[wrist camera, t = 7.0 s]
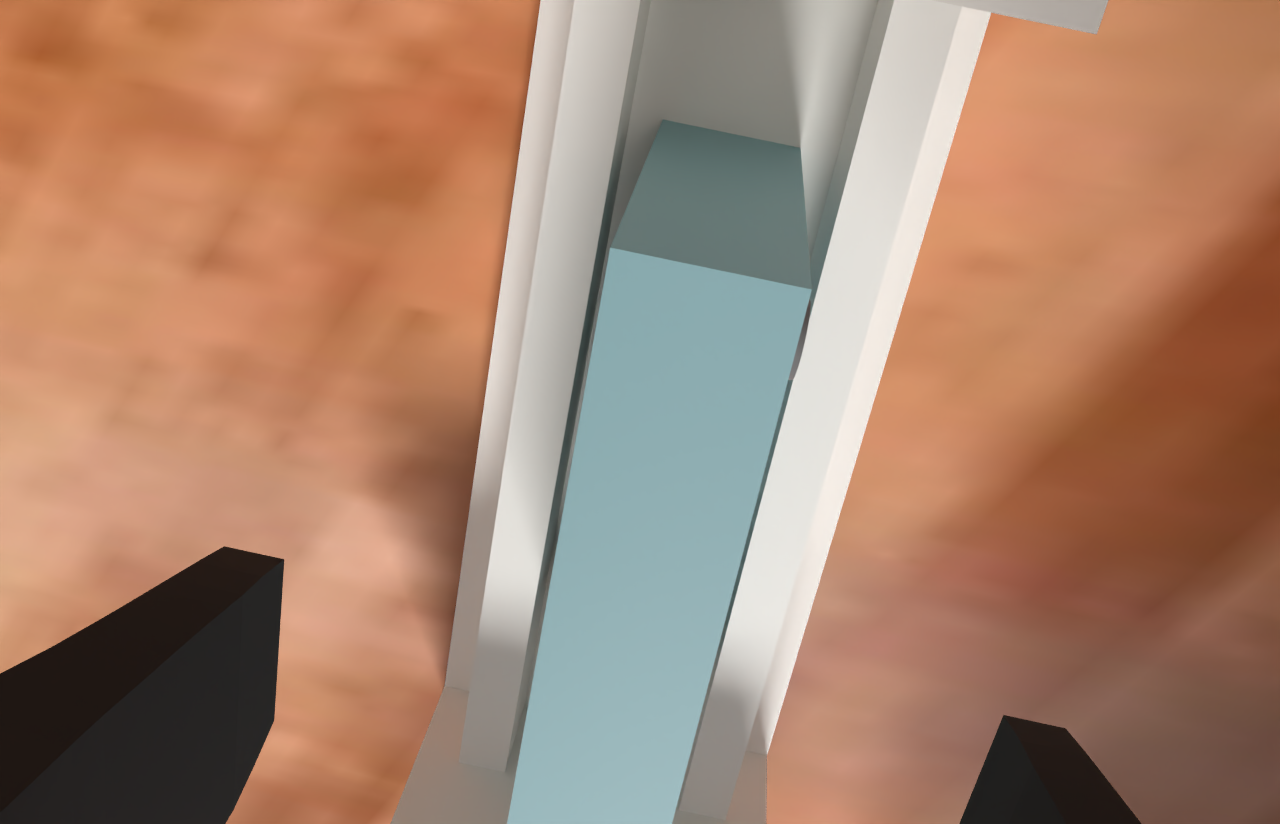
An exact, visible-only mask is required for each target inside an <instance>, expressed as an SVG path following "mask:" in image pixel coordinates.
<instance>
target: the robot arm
mask: <svg viewBox="0 0 1280 824" xmlns="http://www.w3.org/2000/svg"><path fill="white" fill-rule="evenodd" d="M283 570H284V559H280V558H275V557H271V556H266V555H261V554H257V553H252V552H248V551H243V550H238V549H234V548H229V547H222V548H221V549H219V550H217V551H215V552H213V553H212V554H210V555H208V556H206V557H205V558H203V559H201V560H200V561H198V562H196V563H195V564H193V565H191V566H190V567H188V568H186V569H185V570H183V571H181V572H179V573H178V574H176V575H174V576H173V577H171V578H169V579H168V580H166V581H164V582H163V583H161V584H159V585H158V586H156V587H154V588H153V589H151V590H149V591H148V592H146V593H144V594H143V595H141V596H139V597H138V598H136V599H134V600H132V601H131V602H129V603H127V604H126V605H124V606H122V607H121V608H119V609H117V610H116V611H114V612H112V613H111V614H109V615H107V616H105V617H104V618H102V619H100V620H98V621H97V622H95V623H93V624H91V625H90V626H88V627H86V628H84V629H83V630H81V631H79V632H77V633H76V634H74V635H72V636H70V637H69V638H67V639H65V640H63V641H62V642H60V643H58V644H56V645H55V646H53V647H51V648H49V649H47V650H45V651H43V652H41V653H39V654H37V655H36V656H34V657H32V658H30V659H28V660H26V661H24V662H22V663H20V664H18V665H16V666H14V667H12V668H10V669H8V670H6V671H5V672H3V673H1V674H0V824H225V823H226V821H227V820H228V818H229V816H230V815H231V813H232V811H233V810H234V807H235V805H236V803H237V801H238V799H239V797H240V795H241V793H242V790H243V788H244V786H245V784H246V782H247V780H248V778H249V776H250V773H251V771H252V769H253V767H254V765H255V762H256V760H257V758H258V756H259V753H260V751H261V749H262V747H263V744H264V742H265V740H266V738H267V735H268V733H269V731H270V728H271V726H272V724H273V722H274V714H275V698H276V682H277V666H278V650H279V634H280V618H281V602H282V586H283ZM960 824H1141V823H1140V821H1139V820H1138V819H1137V818H1136V816H1135V815H1134V814H1133V812H1132V811H1131V810H1130V809H1129V807H1128V806H1127V805H1126V803H1125V802H1124V801H1123V800H1122V798H1121V797H1120V796H1119V795H1118V793H1117V792H1116V791H1115V789H1114V788H1113V787H1112V786H1111V784H1110V783H1109V782H1108V780H1107V779H1106V778H1105V777H1104V775H1103V774H1102V773H1101V771H1100V770H1099V769H1098V768H1097V766H1096V765H1095V764H1094V763H1093V761H1092V760H1091V759H1090V757H1089V756H1088V755H1087V754H1086V753H1085V751H1084V750H1083V749H1082V748H1081V746H1080V745H1079V744H1078V743H1077V742H1076V740H1075V739H1074V738H1073V737H1072V736H1071V734H1070V733H1069V732H1068V731H1067V730H1066V729H1065V728H1061V727H1056V726H1051V725H1047V724H1042V723H1037V722H1033V721H1028V720H1024V719H1019V718H1014V717H1010V716H1005V715H1004V716H1003V718H1002V721H1001V723H1000V725H999V728H998V730H997V733H996V735H995V738H994V740H993V743H992V745H991V748H990V750H989V753H988V755H987V757H986V760H985V762H984V765H983V767H982V770H981V772H980V775H979V777H978V780H977V782H976V784H975V787H974V789H973V792H972V794H971V797H970V799H969V802H968V804H967V807H966V809H965V812H964V814H963V816H962V819H961V821H960Z"/></svg>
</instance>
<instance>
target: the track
mask: <svg viewBox="0 0 1280 824" xmlns="http://www.w3.org/2000/svg"><path fill="white" fill-rule="evenodd" d="M1107 3H1108V0H541V2H540V9H539V16H538V23H537V30H536V37H535V44H534V52H533V59H532V66H531V73H530V80H529V87H528V94H527V102H526V109H525V116H524V123H523V130H522V137H521V144H520V152H519V159H518V166H517V173H516V180H515V187H514V194H513V202H512V209H511V216H510V223H509V230H508V237H507V244H506V252H505V259H504V266H503V273H502V280H501V287H500V294H499V302H498V309H497V316H496V323H495V330H494V337H493V344H492V351H491V359H490V366H489V373H488V380H487V387H486V394H485V401H484V409H483V416H482V423H481V430H480V437H479V444H478V451H477V459H476V466H475V473H474V480H473V487H472V494H471V501H470V509H469V516H468V523H467V530H466V537H465V544H464V551H463V559H462V566H461V573H460V580H459V587H458V594H457V601H456V609H455V616H454V623H453V630H452V637H451V644H450V651H449V658H448V666H447V673H446V680H445V686H444V689H443V692H442V694H441V697H440V699H439V702H438V704H437V707H436V709H435V712H434V714H433V717H432V720H431V722H430V725H429V727H428V730H427V732H426V735H425V737H424V740H423V742H422V745H421V748H420V750H419V753H418V755H417V758H416V760H415V763H414V765H413V768H412V770H411V773H410V776H409V778H408V781H407V783H406V786H405V788H404V791H403V793H402V796H401V798H400V801H399V804H398V806H397V809H396V811H395V814H394V816H393V819H392V821H391V824H507V821H508V816H509V810H510V804H511V799H512V793H513V788H514V782H515V777H516V771H517V765H518V760H519V754H520V749H521V743H522V737H523V732H524V726H525V721H526V715H527V709H528V704H529V698H530V693H531V687H532V682H533V676H534V670H535V665H536V659H537V654H538V648H539V642H540V637H541V631H542V626H543V620H544V614H545V609H546V603H547V598H548V592H549V586H550V581H551V575H552V570H553V564H554V559H555V553H556V547H557V542H558V536H559V531H560V525H561V519H562V514H563V508H564V503H565V497H566V491H567V486H568V480H569V475H570V469H571V464H572V458H573V452H574V447H575V441H576V436H577V430H578V424H579V419H580V413H581V408H582V402H583V396H584V391H585V385H586V380H587V374H588V369H589V363H590V357H591V352H592V346H593V341H594V335H595V329H596V324H597V318H598V313H599V307H600V301H601V296H602V290H603V285H604V279H605V274H606V268H607V262H608V257H609V251H610V247H611V244H612V242H613V239H614V237H615V234H616V232H617V230H618V227H619V225H620V222H621V220H622V217H623V215H624V213H625V210H626V208H627V205H628V203H629V200H630V198H631V195H632V193H633V191H634V188H635V186H636V183H637V181H638V178H639V176H640V173H641V171H642V169H643V166H644V164H645V161H646V159H647V156H648V154H649V151H650V149H651V147H652V144H653V142H654V139H655V137H656V134H657V132H658V130H659V127H660V125H661V122H662V120H668V121H673V122H678V123H683V124H688V125H692V126H697V127H702V128H707V129H712V130H717V131H721V132H726V133H731V134H736V135H741V136H746V137H750V138H755V139H760V140H765V141H770V142H775V143H779V144H784V145H789V146H794V147H799V148H801V160H802V173H803V185H804V197H805V210H806V222H807V235H808V247H809V260H810V272H811V284H812V291H811V295H810V301H811V308H810V317H809V323H808V329H807V334H806V339H805V343H804V348H803V352H802V356H801V359H800V363H799V366H798V369H797V372H796V375H795V377H794V379H793V380H788V383H787V387H786V390H785V394H784V398H783V402H782V406H781V410H780V413H779V417H778V421H777V425H776V429H775V432H774V436H773V440H772V444H771V448H770V452H769V455H768V459H767V463H766V467H765V471H764V474H763V478H762V482H761V486H760V490H759V494H758V497H757V501H756V505H755V509H754V513H753V516H752V520H751V524H750V528H749V532H748V536H747V539H746V543H745V547H744V551H743V555H742V558H741V562H740V566H739V570H738V574H737V578H736V581H735V585H734V589H733V593H732V597H731V600H730V604H729V608H728V612H727V616H726V619H725V623H724V627H723V631H722V635H721V639H720V642H719V646H718V650H717V654H716V658H715V661H714V665H713V669H712V673H711V677H710V681H709V684H708V688H707V692H706V696H705V700H704V703H703V707H702V711H701V715H700V719H699V723H698V726H697V730H696V734H695V738H694V742H693V745H692V749H691V753H690V757H689V761H688V765H687V768H686V772H685V776H684V780H683V784H682V787H681V791H680V795H679V799H678V803H677V807H676V810H675V814H674V818H673V822H672V824H766V798H767V754H768V750H769V747H770V744H771V740H772V737H773V734H774V730H775V727H776V724H777V720H778V717H779V714H780V711H781V707H782V704H783V701H784V697H785V694H786V691H787V687H788V684H789V681H790V677H791V674H792V671H793V667H794V664H795V661H796V658H797V654H798V651H799V648H800V644H801V641H802V638H803V634H804V631H805V628H806V624H807V621H808V618H809V614H810V611H811V608H812V604H813V601H814V598H815V595H816V591H817V588H818V585H819V581H820V578H821V575H822V571H823V568H824V565H825V561H826V558H827V555H828V551H829V548H830V545H831V542H832V538H833V535H834V532H835V528H836V525H837V522H838V518H839V515H840V512H841V508H842V505H843V502H844V498H845V495H846V492H847V489H848V485H849V482H850V479H851V475H852V472H853V469H854V465H855V462H856V459H857V455H858V452H859V449H860V445H861V442H862V439H863V435H864V432H865V429H866V426H867V422H868V419H869V416H870V412H871V409H872V406H873V402H874V399H875V396H876V392H877V389H878V386H879V382H880V379H881V376H882V373H883V369H884V366H885V363H886V359H887V356H888V353H889V349H890V346H891V343H892V339H893V336H894V333H895V329H896V326H897V323H898V319H899V316H900V313H901V310H902V306H903V303H904V300H905V296H906V293H907V290H908V286H909V283H910V280H911V276H912V273H913V270H914V266H915V263H916V260H917V257H918V253H919V250H920V247H921V243H922V240H923V237H924V233H925V230H926V227H927V223H928V220H929V217H930V213H931V210H932V207H933V204H934V200H935V197H936V194H937V190H938V187H939V184H940V180H941V177H942V174H943V170H944V167H945V164H946V160H947V157H948V154H949V150H950V147H951V144H952V141H953V137H954V134H955V131H956V127H957V124H958V121H959V117H960V114H961V111H962V107H963V104H964V101H965V97H966V94H967V91H968V88H969V84H970V81H971V78H972V74H973V71H974V68H975V64H976V61H977V58H978V54H979V51H980V48H981V44H982V41H983V38H984V35H985V31H986V28H987V25H988V21H989V18H990V15H991V13H996V14H1001V15H1005V16H1010V17H1015V18H1020V19H1025V20H1030V21H1034V22H1039V23H1044V24H1049V25H1054V26H1059V27H1063V28H1068V29H1073V30H1078V31H1083V32H1088V33H1092V34H1097V32H1098V29H1099V26H1100V23H1101V20H1102V17H1103V14H1104V12H1105V9H1106V6H1107Z"/></svg>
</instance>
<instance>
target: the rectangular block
mask: <svg viewBox="0 0 1280 824" xmlns="http://www.w3.org/2000/svg"><path fill="white" fill-rule="evenodd" d="M811 291H812V284H811V272H810V260H809V247H808V235H807V222H806V210H805V197H804V185H803V173H802V160H801V148H799V147H794V146H789V145H784V144H779V143H775V142H770V141H765V140H760V139H755V138H750V137H746V136H741V135H736V134H731V133H726V132H721V131H717V130H712V129H707V128H702V127H697V126H692V125H688V124H683V123H678V122H673V121H668V120H662V122H661V125H660V127H659V130H658V132H657V134H656V137H655V139H654V142H653V144H652V147H651V149H650V151H649V154H648V156H647V159H646V161H645V164H644V166H643V169H642V171H641V173H640V176H639V178H638V181H637V183H636V186H635V188H634V191H633V193H632V195H631V198H630V200H629V203H628V205H627V208H626V210H625V213H624V215H623V217H622V220H621V222H620V225H619V227H618V230H617V232H616V234H615V237H614V239H613V242H612V244H611V247H610V251H609V257H608V262H607V268H606V274H605V279H604V285H603V290H602V296H601V301H600V307H599V313H598V318H597V324H596V329H595V335H594V341H593V346H592V352H591V357H590V363H589V369H588V374H587V380H586V385H585V391H584V396H583V402H582V408H581V413H580V419H579V424H578V430H577V436H576V441H575V447H574V452H573V458H572V464H571V469H570V475H569V480H568V486H567V491H566V497H565V503H564V508H563V514H562V519H561V525H560V531H559V536H558V542H557V547H556V553H555V559H554V564H553V570H552V575H551V581H550V586H549V592H548V598H547V603H546V609H545V614H544V620H543V626H542V631H541V637H540V642H539V648H538V654H537V659H536V665H535V670H534V676H533V682H532V687H531V693H530V698H529V704H528V709H527V715H526V721H525V726H524V732H523V737H522V743H521V749H520V754H519V760H518V765H517V771H516V777H515V782H514V788H513V793H512V799H511V804H510V810H509V816H508V821H507V824H672V822H673V818H674V814H675V810H676V807H677V803H678V799H679V795H680V791H681V787H682V784H683V780H684V776H685V772H686V768H687V765H688V761H689V757H690V753H691V749H692V745H693V742H694V738H695V734H696V730H697V726H698V723H699V719H700V715H701V711H702V707H703V703H704V700H705V696H706V692H707V688H708V684H709V681H710V677H711V673H712V669H713V665H714V661H715V658H716V654H717V650H718V646H719V642H720V639H721V635H722V631H723V627H724V623H725V619H726V616H727V612H728V608H729V604H730V600H731V597H732V593H733V589H734V585H735V581H736V578H737V574H738V570H739V566H740V562H741V558H742V555H743V551H744V547H745V543H746V539H747V536H748V532H749V528H750V524H751V520H752V516H753V513H754V509H755V505H756V501H757V497H758V494H759V490H760V486H761V482H762V478H763V474H764V471H765V467H766V463H767V459H768V455H769V452H770V448H771V444H772V440H773V436H774V432H775V429H776V425H777V421H778V417H779V413H780V410H781V406H782V402H783V398H784V394H785V390H786V387H787V383H788V380H793V379H794V377H795V375H796V372H797V369H798V366H799V363H800V359H801V356H802V352H803V348H804V343H805V339H806V334H807V329H808V323H809V317H810V308H811V301H810V295H811Z"/></svg>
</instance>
